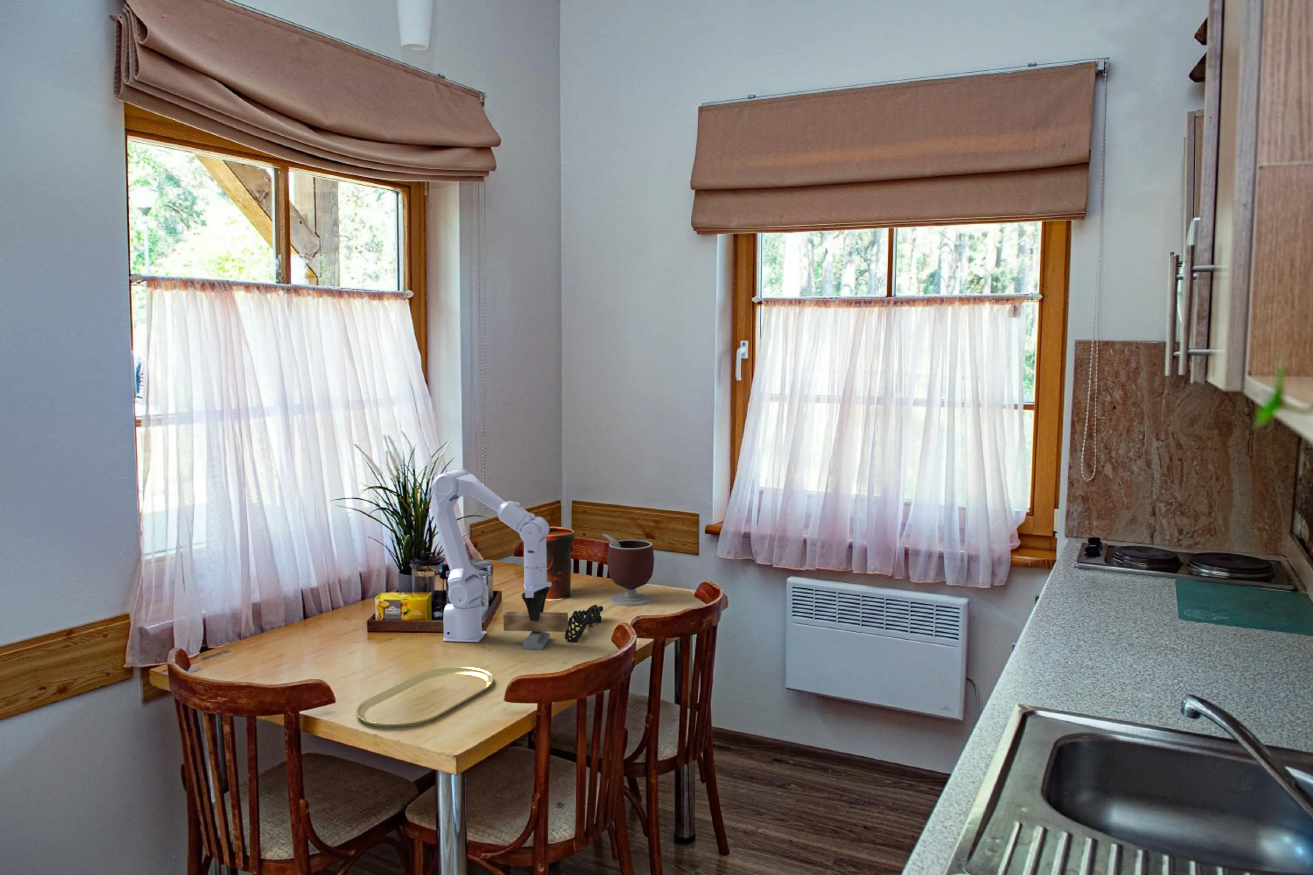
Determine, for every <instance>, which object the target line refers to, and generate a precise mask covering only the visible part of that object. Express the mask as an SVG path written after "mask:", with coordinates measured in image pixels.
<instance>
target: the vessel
mask: <svg viewBox="0 0 1313 875" xmlns="http://www.w3.org/2000/svg"><path fill="white" fill-rule="evenodd" d="M545 538H546V552H547V582H551V583H552V585H551V586H550V587H549V588H550V589H549V592H548V594H547V596H546V600H545V601H547V602H548V601H549V602H552V601H559V600H564V599H567V598H571V597H573V596H574V595H575V593H574V591H572V590H571V587H572V586H571V585H572V582H571V578H572V558H571V557H572V556H571V554H572V552H573V549H574V547H573V542H574V540H575V538H576V532H575V530H573V529H570V528H567V527H560V526H549V534H548V535H547V536H546V537H545ZM545 538H544V539H545ZM542 540H543V539H542Z"/></svg>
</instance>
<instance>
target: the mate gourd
mask: <svg viewBox="0 0 1313 875" xmlns="http://www.w3.org/2000/svg"><path fill="white" fill-rule="evenodd" d="M602 537H604V538H606V539H607V540H608V541H609V542H610V543H609V544H608V549H607V557H606V560H607V562H606V563H607V564H606V565H607V570H608V575H609V578H610V579H611V581H613V583H614V584H615V585H617V586H619V587H622V588H624V589H626V590H625V592H623V593H618V594H614V595H612V596H610V603H612V604H614V605H617V606H622V607H623V606H624V607H637V606H644V605H648V604H650V603H651V602H652V597H651V595H648V594H645V593H641V592H640V593H639V592H637V590H636V589H637V588H640V587H642V586H645V585H647V584H648V583H649V581H650V579H651V578H652V577H653V573H654V567H655V555H654V554H655V553H654V547H653V543H652V542H651V541H648V540H644V539H621V540H617V539H616V538H614V537H612V536H610V535H608V534H605V533H602Z"/></svg>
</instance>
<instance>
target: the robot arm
mask: <svg viewBox="0 0 1313 875" xmlns="http://www.w3.org/2000/svg"><path fill="white" fill-rule="evenodd" d="M430 488H431V490H432V494H431V500H430V510H431V513H432V517H433V519H434V522H435V526H436V529H437V532H438V536H439V538H440V542H441V545H442V549H443V552H444V555H445V556H444V557H445V558H446V562H447V566H448V569H449V572H450V573H449V575H448V578H447V585H448V594H447V596H448V600H449V602H450V603H447V604H446V605H445V607H444V609H443V615H442V616H443V618H442V619H443V621H442V622H443V639H442V640H443V642H463V643H465V642H466V643H479V642H480V641H481V640H482V639H483V638H484V637H485V636H486V634H487V633H488V632H487V631H485V630H482V629H483V628H482V623H483V622H482V596H484V594H485V591H486V584H485V582H484V580H483V579H482V578H481V577H480V575H479V572H478V570H477V569H476V568H475V567H474V566H472V565H471V562H470V561H471V560H470V558H469V554H468V552H467V549H466V546H465V542H464V539H463V536H462V533H461V529H460V526H459V523H458V520H457V516H456V513H455V510H454V508H455V505H456V504H457V502H458V501H459V499H460V497H472V498H474V499H475V500H476V501H478V502H480V503H482V504H484V505H485V506H487V507H488V508H490V509H491V510H493V511H494V512H496V513H497V516H498V517H497V518H498V520H499V521H501V522H502V523H504V524H505V525H507V527H510V528H511V529H512V530H513V531H514V532H516V533H518V534H519V537H520V539H521V540H522V542H523V568H524V569H523V570H524V571H523V573H524V574H523V576H524V577H523V578H524V582H523V588H524V592H523V593H521V598H522V601H523V602H524V604H525V606H526V609H527V612H528V614H529V618H530V621H538V620H539V617H540V612H544V608H545V604H546V601H547V600H546V596H547V594H548V592H549V589H550V588H549V587H550V586H551V585H552V583H551V582H547V552H546V538H545V537H546V536H547V535H548V534H549V527H550V526H549V523H548V522H547V520H546V519H545V518H544V517H542V516H536V515H535V514H534V513H533V512H531V513H530V512H528V511H527V510H526V509H524V508H523V507H521V503H520V502H518V501H513V500H510V501H509V500H508V501H506V500H504V499H503V498H501V497H500V496H499V495H498V494H496V493H495V492H494V491H492V490H491V489H490V488H489V487H487V486H486V485H485V484H483V483H482V482H481V481H480V480H479V479H478V478H477V477H476V476H475V474H472V473H470V472H468V470H466V469H464V468H457V469H455V470H450V471H448V472H442V473H439V474H438V475H437V476H436V477H435V479H434V480H433V482H432V484H431V487H430ZM544 538H545V539H544ZM542 539H543V540H542Z"/></svg>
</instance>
